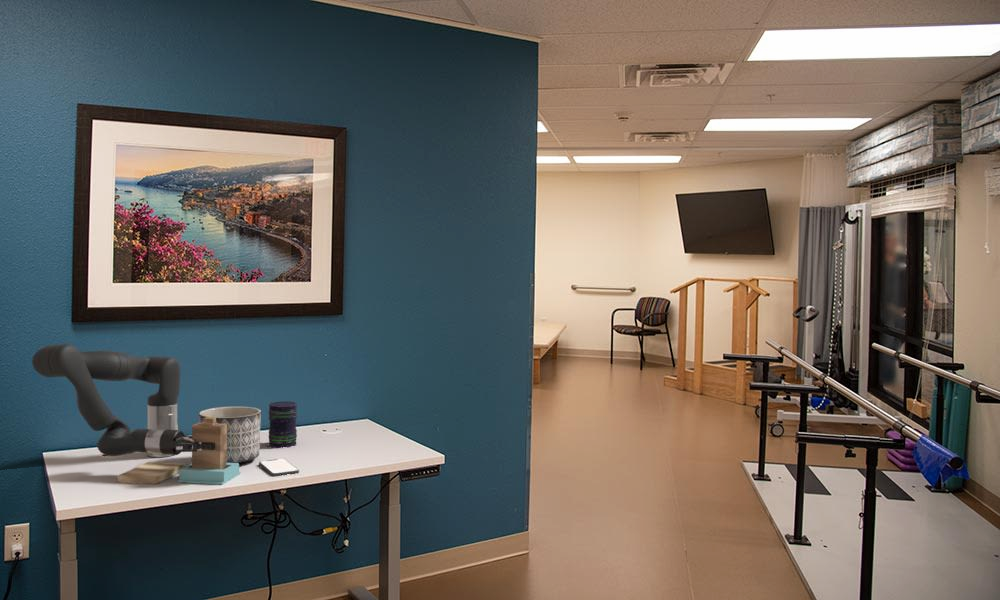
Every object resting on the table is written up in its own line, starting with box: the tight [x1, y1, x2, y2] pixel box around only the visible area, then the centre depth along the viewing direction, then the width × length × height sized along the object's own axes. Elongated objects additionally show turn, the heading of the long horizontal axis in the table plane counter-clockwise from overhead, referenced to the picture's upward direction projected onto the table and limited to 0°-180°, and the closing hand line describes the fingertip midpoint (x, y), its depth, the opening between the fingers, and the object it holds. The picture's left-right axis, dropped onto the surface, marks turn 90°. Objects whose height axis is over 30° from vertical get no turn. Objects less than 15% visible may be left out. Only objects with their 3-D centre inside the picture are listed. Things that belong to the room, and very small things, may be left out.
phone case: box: [258, 458, 300, 477], centre depth 246 cm, size 9×2×16 cm
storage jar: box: [268, 401, 298, 449], centre depth 278 cm, size 10×10×15 cm
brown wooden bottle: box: [191, 417, 227, 469], centre depth 234 cm, size 4×9×16 cm, turn 84°
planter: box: [198, 406, 262, 464], centre depth 254 cm, size 19×19×16 cm
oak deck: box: [117, 461, 185, 485], centre depth 235 cm, size 16×12×2 cm
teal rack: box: [177, 462, 241, 486], centre depth 234 cm, size 12×14×4 cm
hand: (218, 444), depth 234 cm, fingers closed on brown wooden bottle, 4 cm apart
